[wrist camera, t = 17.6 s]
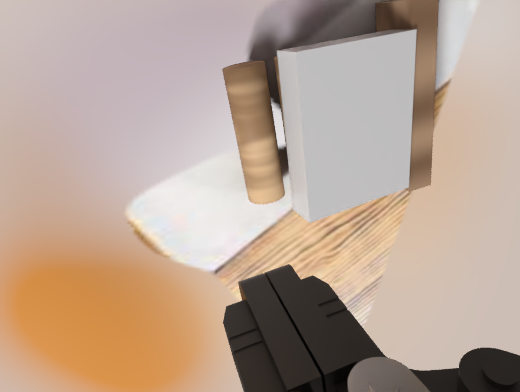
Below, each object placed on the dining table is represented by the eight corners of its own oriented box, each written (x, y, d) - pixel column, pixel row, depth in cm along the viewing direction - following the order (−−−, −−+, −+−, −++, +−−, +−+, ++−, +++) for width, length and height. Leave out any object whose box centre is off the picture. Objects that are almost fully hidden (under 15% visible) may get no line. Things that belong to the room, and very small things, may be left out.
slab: (276, 50, 29) (295, 52, 27) (390, 29, 33) (416, 29, 30) (293, 209, 35) (309, 222, 33) (387, 177, 39) (408, 187, 36)
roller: (218, 68, 32) (228, 72, 29) (257, 59, 33) (270, 62, 30) (244, 193, 37) (254, 207, 34) (277, 183, 38) (290, 197, 35)
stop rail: (375, 3, 34) (412, 0, 30) (399, -2, 35) (438, -6, 30) (379, 174, 42) (409, 191, 37) (399, 168, 42) (430, 184, 38)
